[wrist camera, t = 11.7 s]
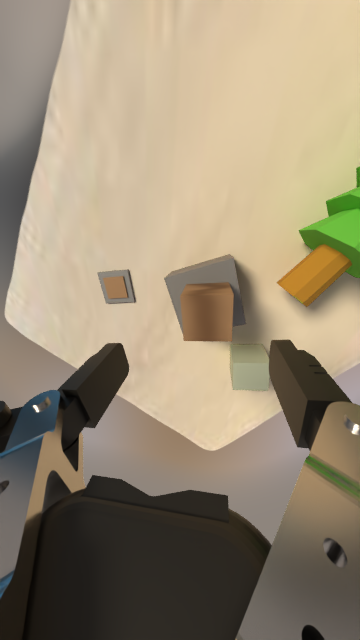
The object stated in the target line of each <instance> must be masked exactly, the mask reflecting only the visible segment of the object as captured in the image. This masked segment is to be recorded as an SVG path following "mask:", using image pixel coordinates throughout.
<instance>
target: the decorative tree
mask: <svg viewBox="0 0 360 640" xmlns="http://www.w3.org/2000/svg"><path fill="white" fill-rule="evenodd" d="M356 170H357V188H356V189H353V190H351V191H349V192H346V193H344V194H342V195H339V196H337V197H335V198H332V199H330V200H328V201H326V204H327V209H328V215H329V217H328V218H325V219H323V220H321V221H319V222H317V223H314V224H312V225H310V226H308V227H306V228H303V229H301V230H299V232H300V234H301V236H302V238H303V240H304V242H305V244H306V245H307V246H309V247H310V248H311V249H312V250H313V252H311V253H310V254H309V255H308V256H307V257H306V258H304V259H303V260H302V261H301V262H300V263H299V264H298V265H296V266H295V267H294V268H293V269H292V270H291V271H290V272H288V273H287V274H286V275H285V276H284V277H283V278H281V279H280V280H279V281H278V282H277V283H278V284H279V285H280V286H281V287H282V288H284V289H285V290H286V291H287V292H289V293H290V294H291V295H292V296H293V297H295V298H296V299H297V300H299V301H300V302H301V303H302V304H304V305H305V306H306V307H307V306H309V305H310V304H311V303H312V302H313V301H314V300H315V299H316V298H317V297H318V296H319V295H320V294H321V293H322V292H324V291H325V290H326V289H327V288H328V287H329V286H330V285H331V284H332V283H333V282H334V281H335V280H336V279H337V278H339V277H340V276H341V275H342V274H343V273H344V272H347V273H348V274H350V275H352V276H354V277H357V278H360V167H358V168H356Z"/></svg>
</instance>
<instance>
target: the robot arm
mask: <svg viewBox="0 0 360 640" xmlns="http://www.w3.org/2000/svg"><path fill="white" fill-rule="evenodd" d="M128 372H129V364H128V361H127V358H126V354H125V351H124V348H123V345H122V344H121V343H108V344H106V345H105V346H104V347H103V348H102V349H101V350H100V351H99V352H98V353H96V354H95V355H93V356H92V357H90V358H89V359H88V360H87V361H86V362H85V363H84V365H82V366H81V367H80V368H79V370H77V371H76V372H75V373H74V374H73V375H72V376H71V377H70V378H69V379H68V380H67V381H66V382H65V383H64V384H63V385H62V386H61V387H60V388H59V389H58V390H49V391H46V392H43V393H40V394H39V395H37V396H35V397H33V398H32V399H31V400H29V401H28V402H27V403H26V404H25V405H24V406H23V407H19V408H15V409H9V407H8V406H7V405H6V403H5V402H4V401H0V640H360V406H359V405H357V404H353V403H352V402H351V401H350V399H349V398H348V397H347V396H346V394H345V393H344V392H343V391H342V390H341V389H340V388H339V386H338V385H337V384H336V382H335V381H334V380H333V379H332V378H331V376H330V375H329V374H327V372H326V370H325V369H324V368H323V367H321V364H320V363H319V362H318V361H317V359H316V358H315V357H314V356H312V355H311V354H309V353H307V352H306V351H304V350H297V349H296V347H295V346H294V344H293V343H292V342H291V341H290V340H272V341H271V345H270V357H269V375H270V379H271V381H272V384H273V386H274V389H275V391H276V394H277V397H278V399H279V402H280V404H281V407H282V409H283V412H284V414H285V417H286V419H287V422H288V424H289V427H290V429H291V432H292V435H293V437H294V440H295V442H296V445H297V447H301V448H309V450H310V454H309V456H308V457H307V458H306V460H305V462H304V464H303V467H302V469H301V472H300V475H299V477H298V480H297V482H296V485H295V487H294V490H293V493H292V495H291V498H290V500H289V503H288V505H287V508H286V511H285V513H284V516H283V518H282V521H281V524H280V526H279V529H278V531H277V534H276V536H275V539H274V541H273V544H272V545H271V544H270V543H269V541H268V540H267V539H266V538H265V537H264V536H263V535H262V534H261V532H260V531H259V530H258V529H256V528H255V526H253V525H252V524H251V523H250V522H249V521H248V520H246V519H245V518H244V517H242V516H241V515H239V514H238V513H236V512H234V511H232V510H230V509H229V508H228V496H226V495H220V494H213V493H207V492H200V491H194V490H187V491H182V492H176V493H171V494H166V495H160V496H154V497H153V496H149V495H147V494H145V493H144V492H142V491H140V490H139V489H137V488H135V487H133V486H132V485H130V484H128V483H127V482H125V481H123V480H122V479H115V478H108V477H101V476H95V475H92V477H91V479H90V481H89V483H88V485H87V487H85V484H84V479H83V435H82V433H81V431H82V430H83V428H84V427H89V428H95V427H96V425H97V424H98V422H99V420H100V419H101V417H102V415H103V414H104V412H105V411H106V409H107V408H108V406H109V404H110V403H111V401H112V399H113V398H114V396H115V395H116V393H117V391H118V390H119V388H120V387H121V385H122V383H123V382H124V380H125V379H126V377H127V375H128Z"/></svg>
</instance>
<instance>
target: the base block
mask: <svg viewBox="0 0 360 640" xmlns="http://www.w3.org/2000/svg"><path fill="white" fill-rule="evenodd" d="M164 279H165V282H166V285H167V288H168V291H169V294H170V297H171V300H172V303H173V306H174V309H175V312H176V315H177V318H178V321H179V324H180V327H181V330H182V333H183V325H182V313H181V300H180V296H181V294H182V292H183V290H184V288H185V286H186V284H201V283H224V282H229V284H230V287H231V289H232V292H233V294H234V299H233V322H232V327H233V326H238V325H244V324H246V322H245V317H244V311H243V306H242V300H241V295H240V290H239V284H238V279H237V273H236V268H235V263H234V258H233V257H232V256H231V255H230V254H229V255H225V256H222V257H219V258H215V259H212V260H209V261H205V262H202V263H199V264H195V265H192V266H189V267H185V268H182V269H179V270H175V271H172V272H171V273H170V274H168V275H167V276H166V277H165V278H164Z"/></svg>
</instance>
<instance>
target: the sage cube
mask: <svg viewBox="0 0 360 640" xmlns="http://www.w3.org/2000/svg"><path fill="white" fill-rule="evenodd" d="M230 373H231V380H232V387H233V390H252V391H268V388H269V380H270V375H269V357H268V355H267V353H266V351H265V349H264V347H263V345H262V344H230Z"/></svg>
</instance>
